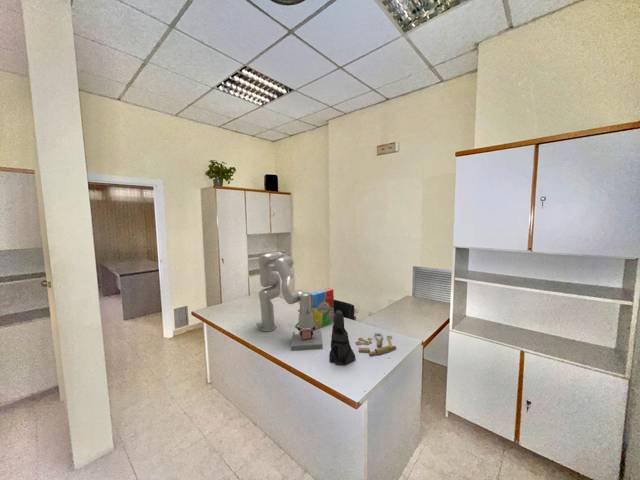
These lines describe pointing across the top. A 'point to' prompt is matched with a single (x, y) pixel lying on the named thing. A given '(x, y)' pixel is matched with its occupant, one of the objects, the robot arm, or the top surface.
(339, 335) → the black tall figure
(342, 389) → the top surface
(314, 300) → the game box
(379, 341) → the toy baking set
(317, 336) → the socket
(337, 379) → the top surface
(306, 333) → the pink block
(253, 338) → the top surface
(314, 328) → the robot arm
